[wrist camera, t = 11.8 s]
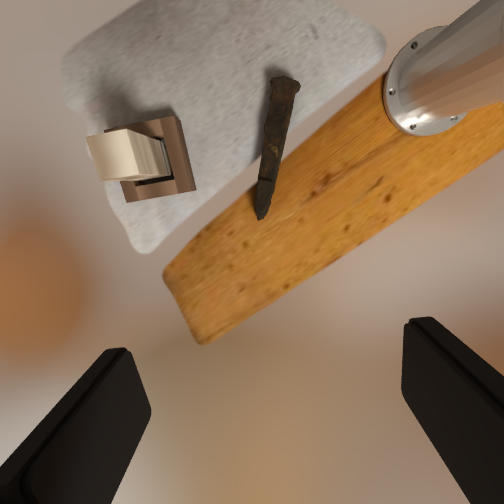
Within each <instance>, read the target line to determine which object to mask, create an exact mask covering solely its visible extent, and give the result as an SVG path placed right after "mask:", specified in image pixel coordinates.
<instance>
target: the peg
mask: <svg viewBox="0 0 504 504" xmlns="http://www.w3.org/2000/svg"><path fill="white" fill-rule="evenodd" d="M86 140H87V143H88V146H89V149H90V152H91V155H92V158H93V161H94V164H95V167H96V170H97V173H98V175H99V179H100V181H133V180H138V181H141V180H147V179H152V178H158V177H163V176H169V175H171V174H172V173H173V171H172V167H171V163H170V159H169V155H168V151H167V147H165V146H164V144H163V142H161V141H160V140H159V141H158V140H155V139H153V138H150V137H147V136H145V135H142V134H139V133H137V132H134V131H131V130H128V129H122V130H117V131H112V132H107V133H102V134H97V135H92V136H87V137H86Z"/></svg>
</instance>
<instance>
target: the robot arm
mask: <svg viewBox="0 0 504 504" xmlns="http://www.w3.org/2000/svg"><path fill="white" fill-rule="evenodd" d="M411 48H412V49H411ZM389 92H390V93H391V95H390V94H389ZM383 100H384V107H385V110H386V113H387V115H388V117H389V119H390V120H391V122H392V123H393V124H394V125H395V126H396V127H397V128H398V129H399V130H401V131H402V132H404V133H406V134H409V135H412V136H420V137H421V136H430V135H434V134H438V133H441V132H443V131H446V130H448V129H449V128H451V127H453V126H454V125H456V124H457V123H458V122H459V121H460V120H462V119H463V118H464V117H465V116H466V114H467V113H468V112H469V111H472V110H475V109H479V108H482V107H485V106H488V105H491V104H494V103H498V102H501V101H504V0H480V1H479V2H477V3H476V4H475V5H474V6H473V7H471V8H470V9H469V10H468V11H466V12H465V13H464V14H462V15H461V16H460V17H459V18H457V19H456V20H455V21H454V22H453V23H451V24H450V25H449V26H438V27H434V28H431V29H428V30H426V31H424V32H422V33H420V34H418V35H417V36H416V37H414V38H413V39H412V40H411V41H409V42H408V43H407V44H406V45H405V46H404V47H403V48H402V49H401V50H400V51H399V53H398V54H397V55H396V57H395V58H394V60H393V62H392V63H391V65H390V67H389V69H388V72H387V75H386V78H385V83H384V88H383ZM410 127H411V129H410ZM401 390H402V394H403V397H404V399H405V401H406V403H407V404H408V406H409V407H410V409H411V410H412V412H413V414H414V415H415V417H416V419H417V420H418V421H419V423H420V425H421V426H422V428H423V430H424V431H425V433H426V434H427V436H428V437H429V439H430V441H431V442H432V444H433V445H434V447H435V448H436V450H437V452H438V453H439V455H440V456H441V458H442V460H443V461H444V462H445V464H446V466H447V467H448V469H449V471H450V472H451V474H452V475H453V477H454V478H455V480H456V482H457V483H458V485H459V486H460V488H461V490H462V491H463V493H464V494H465V496H466V497H467V499H468V500H469V502H470V504H504V376H503V375H502V374H500V373H499V372H498V371H497V370H495V369H494V368H493V367H492V366H491V365H490V364H488V363H487V362H486V361H485V360H483V359H482V358H481V357H480V356H479V355H478V354H476V353H475V352H474V351H473V350H472V349H470V348H469V347H468V346H467V345H465V344H464V343H463V342H462V341H460V339H458V338H457V337H456V336H455V335H454V334H452V333H451V332H450V331H449V330H448V329H446V328H445V327H444V326H443V325H441V324H440V323H439V322H438V321H437V320H435V319H434V318H433V317H419V318H411V319H410V320H409V323H407V324H405V325H404V336H403V360H402V382H401ZM150 417H151V407H150V404H149V401H148V398H147V395H146V392H145V390H144V387H143V384H142V381H141V378H140V376H139V373H138V370H137V367H136V365H135V361H134V359H133V356H132V354H131V352H130V351H127V349H126V348H112V349H107V350H105V351H104V352H103V353H102V354H101V355H100V356H99V357H98V359H97V360H96V361H95V362H94V363H93V364H92V365H91V367H90V368H89V369H88V370H87V371H86V372H85V373H84V374H83V375H82V377H81V378H80V379H79V380H78V381H77V382H76V383H75V384H74V385H73V386H72V388H71V389H70V390H69V391H68V392H67V393H66V394H65V395H64V396H63V398H62V399H61V400H60V401H59V402H58V403H57V404H56V405H55V407H54V408H53V409H52V410H51V411H50V412H49V413H48V414H47V415H46V416H45V418H44V419H43V420H42V421H41V422H40V423H39V424H38V425H37V426H36V428H35V429H34V430H33V431H32V432H31V433H30V434H29V435H28V437H27V438H26V439H25V440H24V441H23V442H22V443H21V444H20V445H19V447H18V448H17V449H16V450H15V451H14V452H13V453H12V454H11V455H10V457H9V458H8V459H7V460H6V461H5V462H4V463H3V464H2V465H1V467H0V504H111V503H112V500H113V498H114V496H115V494H116V492H117V490H118V487H119V485H120V483H121V481H122V479H123V477H124V474H125V472H126V470H127V468H128V466H129V464H130V461H131V459H132V457H133V455H134V453H135V450H136V448H137V446H138V444H139V442H140V440H141V437H142V435H143V433H144V431H145V429H146V426H147V424H148V422H149V420H150Z"/></svg>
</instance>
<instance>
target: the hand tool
mask: <svg viewBox="0 0 504 504" xmlns="http://www.w3.org/2000/svg"><path fill="white" fill-rule="evenodd" d="M270 83H271V87H272V94H271V96H270V101H271V103H270V107H269V111H268V115H267V119H266V124H265V126H264V133H265V138H264V144H263V151H262V157H261V164H260V169H259V175H258V182H257V186H256V193H255V211H256V214H257V220H258V221H259V220H261V219H264V217H265V215H266V214H267V212H268V210H269V207H270V204H271V198H272V195H273V193H274V190H275V183H276V179H277V174H278V170H279V165H280V161H281V157H282V153H283V149H284V144H285V140H286V135H287V131H288V127H289V122H290V117H291V113H292V109H293V103H294V97H295V94H296V93H297V92H298V91H299V90H300V87H301V85H300V83H299V82H298V81H296V80H293V79H290V78H287V77H285V76H281V77H276V78H271V80H270Z"/></svg>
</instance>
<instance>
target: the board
mask: <svg viewBox="0 0 504 504" xmlns="http://www.w3.org/2000/svg"><path fill="white" fill-rule="evenodd" d="M122 129H128V130H131V131H134V132H137V133H139V134H142V135H145V136H147V137H150V138H153V139H155V140H158V141H159V140H164V139H165V143H166V147H167V151H168V155H169V159H170V163H171V167H172V171H173V175H174V179H175V180H169V181H164V182H159V183H153V184H148V185H144V182H143V180H141V181H138V180H133V181H120V183H121V186H122V190H123V193H124V196H125V199H126V202H127V203H129V202H134V201H140V200H145V199H151V198H156V197H162V196H167V195H173V194H179V193H184V192H190V191H195V190H196V186H195V182H194V177H193V173H192V169H191V164H190V160H189V156H188V151H187V147H186V143H185V138H184V134H183V130H182V125H181V121H180V120H179V119H177V118H176V117H175V116H169V117H165V118H160V119H155V120H150V121H145V122H140V123H135V124H131V125H126V126H121V127H116V128H111V129H106V130H104V133H107V132H112V131H117V130H122Z"/></svg>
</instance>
